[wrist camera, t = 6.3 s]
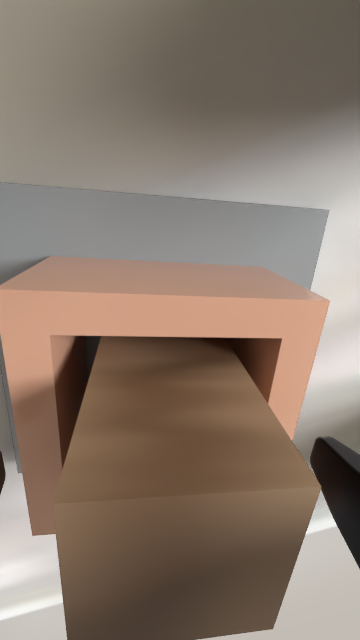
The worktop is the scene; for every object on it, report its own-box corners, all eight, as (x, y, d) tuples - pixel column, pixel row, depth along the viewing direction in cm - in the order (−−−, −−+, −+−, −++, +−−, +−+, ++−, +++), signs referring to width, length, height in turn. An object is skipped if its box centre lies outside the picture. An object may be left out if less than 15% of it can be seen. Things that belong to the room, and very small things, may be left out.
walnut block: (209, 312, 13) (321, 486, 5) (199, 395, 15) (273, 628, 7) (108, 309, 13) (52, 504, 4) (109, 396, 14) (69, 657, 6)
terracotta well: (316, 209, 13) (441, 212, 8) (263, 447, 18) (316, 552, 13) (-17, 181, 11) (-167, 159, 6) (24, 457, 16) (-35, 588, 11)
